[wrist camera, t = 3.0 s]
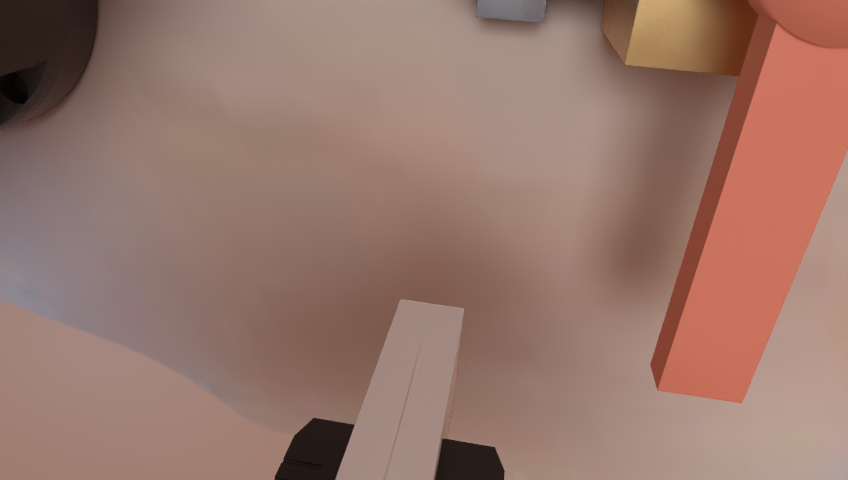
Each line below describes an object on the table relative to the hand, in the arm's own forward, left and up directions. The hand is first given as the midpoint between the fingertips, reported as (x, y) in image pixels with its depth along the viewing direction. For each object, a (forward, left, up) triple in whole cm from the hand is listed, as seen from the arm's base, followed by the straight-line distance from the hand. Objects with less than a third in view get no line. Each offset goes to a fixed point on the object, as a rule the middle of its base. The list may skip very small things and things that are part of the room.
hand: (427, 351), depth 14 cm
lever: (+8, +4, -5) cm, 10 cm away
